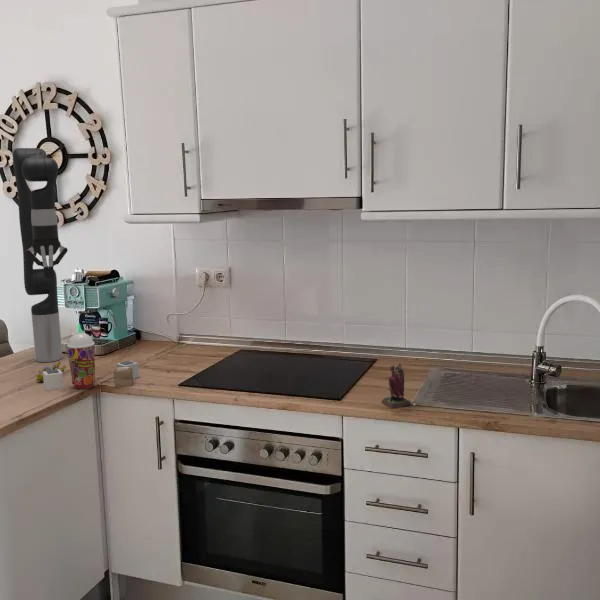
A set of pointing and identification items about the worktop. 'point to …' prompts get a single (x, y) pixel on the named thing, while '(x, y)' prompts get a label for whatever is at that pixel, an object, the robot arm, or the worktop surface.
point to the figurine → (396, 389)
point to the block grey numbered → (130, 364)
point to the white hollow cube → (53, 379)
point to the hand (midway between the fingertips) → (49, 278)
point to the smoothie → (82, 359)
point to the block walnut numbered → (123, 376)
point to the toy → (53, 367)
